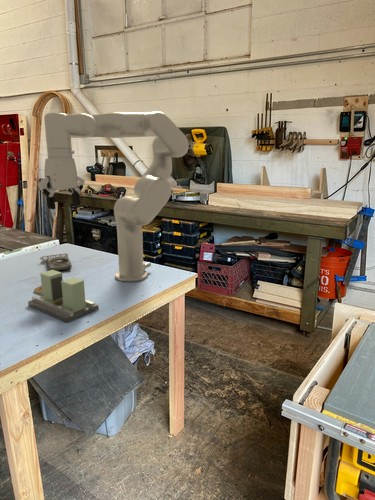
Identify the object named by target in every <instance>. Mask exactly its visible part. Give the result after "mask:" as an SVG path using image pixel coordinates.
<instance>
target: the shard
mask: <svg viewBox="0 0 375 500" xmlns="http://www.w3.org/2000/svg"><path fill="white" fill-rule="evenodd" d="M33 292H34V293H37V294H40V295H43V293H42V285H39V286H38V287H35V288H34V289H33Z"/></svg>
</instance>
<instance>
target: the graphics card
mask: <svg viewBox="0 0 375 500" xmlns="http://www.w3.org/2000/svg"><path fill="white" fill-rule="evenodd" d="M39 260H40V264H45V263H47V265H48V269H49V270H48V271H50V270H55V271H62V270H69V269H72V268H73V267H72V262H71V260H70V258H69V253H59V254H52V255H51V254H50V255H42V256H41V257H40V258H39Z"/></svg>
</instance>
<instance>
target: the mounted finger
mask: <svg viewBox="0 0 375 500" xmlns="http://www.w3.org/2000/svg"><path fill="white" fill-rule="evenodd" d="M61 284H62V295H63V306H64V308H66V309H68V310H70V311H73V312H77V311H79V310H81V309H84V308H86V303H85V300H86V293H85V291H86V289H85V280H83V279H80V278H78V277H73V276H71V277H70V278H66V279H64V280H63V281H61Z"/></svg>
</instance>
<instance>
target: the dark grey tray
mask: <svg viewBox="0 0 375 500" xmlns="http://www.w3.org/2000/svg"><path fill="white" fill-rule="evenodd" d="M27 303H28V305H27V306H28V307H30V308H33V309H35V310H37V311H39V312H42V313H44V314H46V315H48V316H51V317H52V318H54V319H57V320H59V321H62V322H64V323H66V324H68V323H70V322H73V321H75V320H77V319H80V318H82V317H85V316H86V315H89V314H90V313H93V312H96V311H98V310H99V304H98V303H95V302H93V301H91V300H89V299H88V300H87V299H85V303H86V308H84V309H81V310H79V311H77V312H73V311H70V310H68V309H66V308H64V306H63V299H62V300H59V301H57V302H54V303H51V302H49V301H46V300H44V299H43V295H42V296H39V297H38V296H37V295H33V296H31V300H28V301H27Z"/></svg>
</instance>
